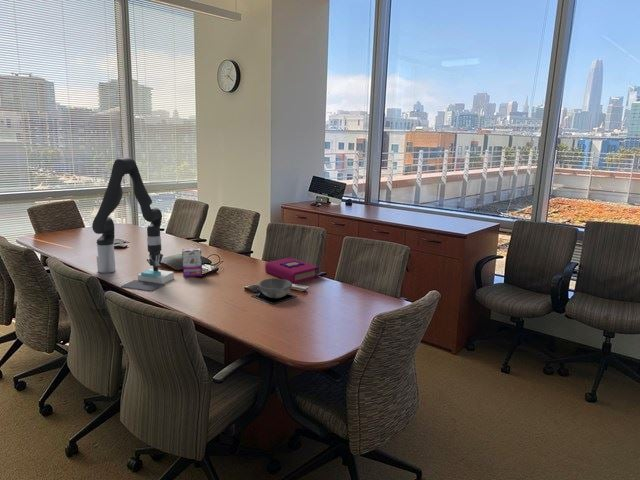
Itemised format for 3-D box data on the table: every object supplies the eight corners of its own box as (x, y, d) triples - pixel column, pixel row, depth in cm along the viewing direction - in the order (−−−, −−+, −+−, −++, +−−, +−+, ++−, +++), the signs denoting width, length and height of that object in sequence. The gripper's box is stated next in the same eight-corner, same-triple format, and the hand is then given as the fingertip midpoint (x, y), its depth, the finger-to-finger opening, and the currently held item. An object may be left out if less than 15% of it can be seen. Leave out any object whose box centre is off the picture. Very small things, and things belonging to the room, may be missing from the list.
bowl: (255, 292, 264) (255, 278, 262) (285, 289, 270) (286, 276, 268) (263, 303, 248) (263, 289, 246) (295, 300, 254) (295, 286, 252)
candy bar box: (202, 273, 293) (201, 248, 289) (202, 276, 289) (201, 250, 285) (183, 274, 290) (182, 248, 286) (183, 277, 286) (182, 250, 282)
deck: (138, 281, 276) (137, 274, 275) (150, 275, 287) (150, 268, 286) (161, 284, 272) (161, 277, 271) (174, 278, 283) (173, 271, 282)
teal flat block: (141, 276, 273) (140, 272, 272) (147, 273, 278) (147, 269, 278) (154, 277, 270) (154, 274, 270) (161, 274, 276) (160, 271, 275)
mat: (120, 287, 265) (120, 286, 265) (134, 280, 276) (134, 279, 276) (151, 291, 260) (151, 290, 260) (164, 285, 271) (164, 284, 271)
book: (293, 284, 280) (293, 272, 278) (265, 273, 300) (265, 261, 298) (319, 277, 294) (320, 266, 292) (290, 267, 314) (291, 256, 312)
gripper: (155, 240, 281) (157, 268, 285) (141, 245, 269) (143, 274, 273) (166, 241, 279) (168, 269, 283) (152, 246, 267) (154, 275, 271)
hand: (155, 271), depth 278 cm, fingers closed
